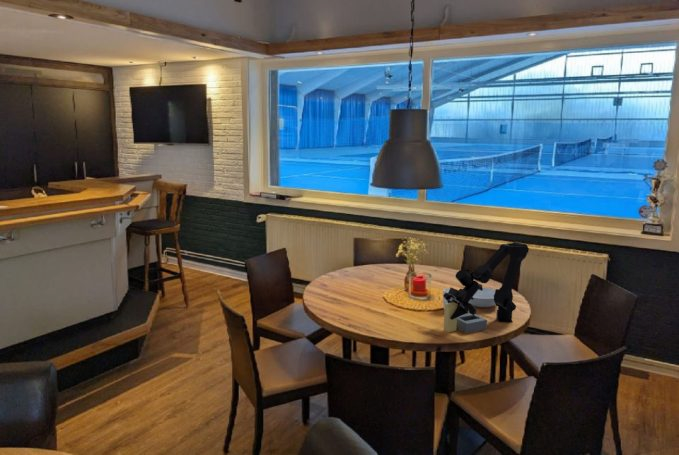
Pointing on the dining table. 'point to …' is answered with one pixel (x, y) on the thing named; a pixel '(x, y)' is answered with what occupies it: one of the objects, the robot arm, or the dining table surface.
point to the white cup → (444, 298)
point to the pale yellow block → (448, 323)
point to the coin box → (471, 323)
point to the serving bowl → (483, 298)
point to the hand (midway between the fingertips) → (448, 317)
